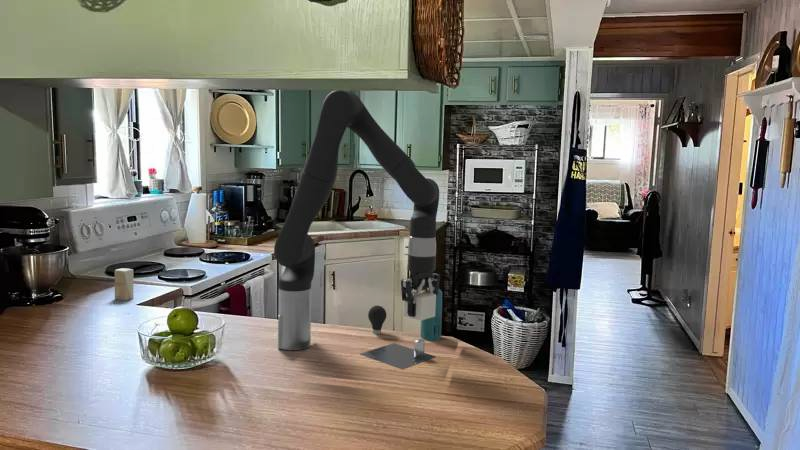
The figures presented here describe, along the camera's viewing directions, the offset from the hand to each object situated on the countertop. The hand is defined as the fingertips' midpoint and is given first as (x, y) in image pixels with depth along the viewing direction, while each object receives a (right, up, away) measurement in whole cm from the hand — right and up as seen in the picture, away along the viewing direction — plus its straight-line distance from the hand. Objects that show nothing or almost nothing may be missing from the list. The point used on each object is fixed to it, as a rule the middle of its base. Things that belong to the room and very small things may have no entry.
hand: (419, 313), depth 162 cm
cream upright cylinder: (-107, -3, +59) cm, 122 cm away
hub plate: (-6, -13, +2) cm, 15 cm away
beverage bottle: (+4, -12, +19) cm, 23 cm away
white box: (0, -1, 0) cm, 1 cm away
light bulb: (-13, -11, +22) cm, 28 cm away
